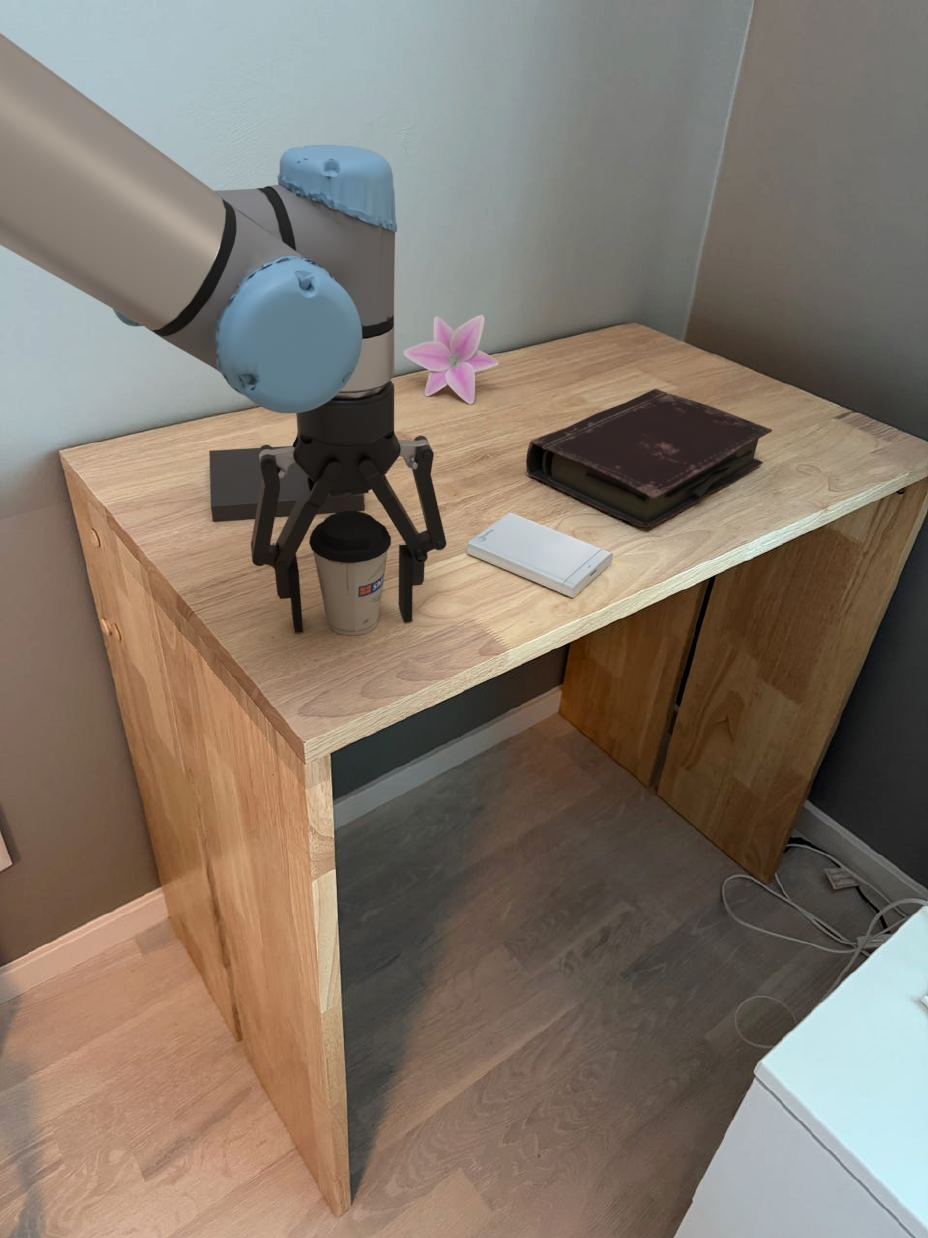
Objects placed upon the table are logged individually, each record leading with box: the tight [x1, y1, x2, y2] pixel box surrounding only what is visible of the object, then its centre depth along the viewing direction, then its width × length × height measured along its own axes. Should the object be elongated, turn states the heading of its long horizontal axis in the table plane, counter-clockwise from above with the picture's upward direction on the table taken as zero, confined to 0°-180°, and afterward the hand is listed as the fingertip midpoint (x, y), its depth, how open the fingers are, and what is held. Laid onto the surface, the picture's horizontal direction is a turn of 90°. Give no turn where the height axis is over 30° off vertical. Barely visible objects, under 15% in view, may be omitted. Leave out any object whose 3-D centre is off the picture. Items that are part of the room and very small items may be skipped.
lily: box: [402, 314, 500, 405], centre depth 122 cm, size 12×12×10 cm
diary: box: [525, 388, 773, 528], centre depth 105 cm, size 19×25×5 cm
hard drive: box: [466, 512, 614, 598], centre depth 89 cm, size 2×8×12 cm
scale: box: [208, 445, 365, 522], centre depth 98 cm, size 16×13×4 cm
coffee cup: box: [308, 511, 392, 636], centre depth 77 cm, size 7×7×10 cm
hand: (352, 617), depth 80 cm, fingers open, 9 cm apart
